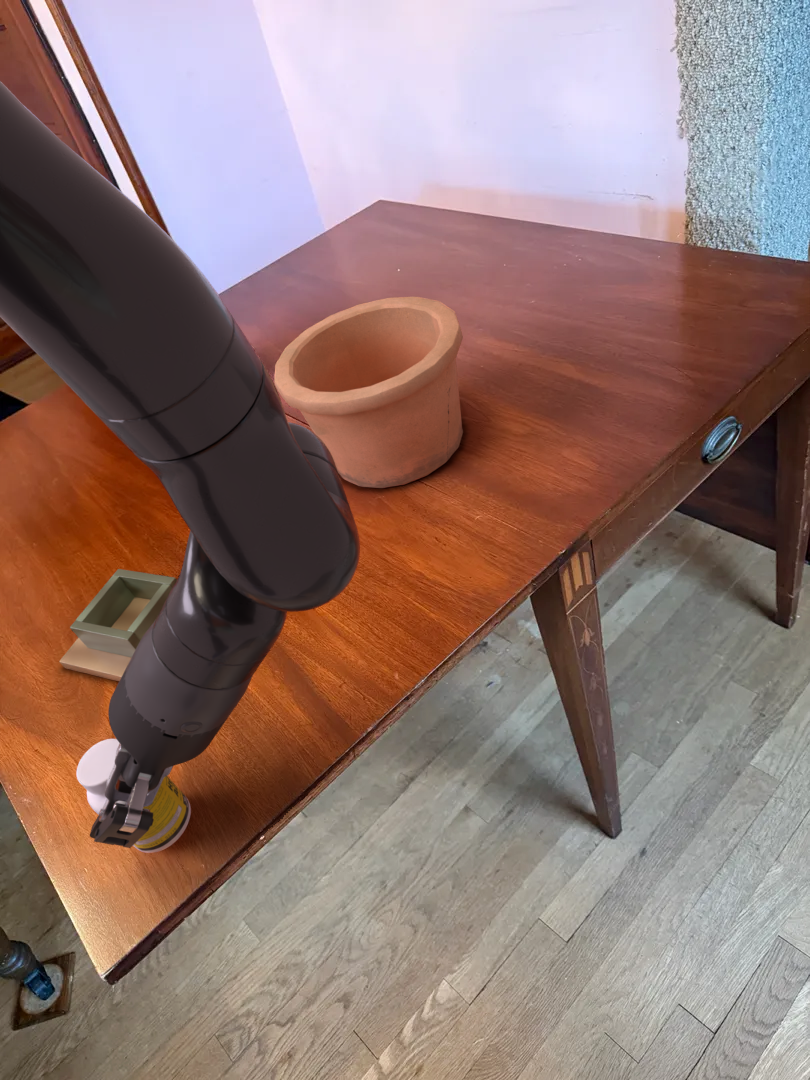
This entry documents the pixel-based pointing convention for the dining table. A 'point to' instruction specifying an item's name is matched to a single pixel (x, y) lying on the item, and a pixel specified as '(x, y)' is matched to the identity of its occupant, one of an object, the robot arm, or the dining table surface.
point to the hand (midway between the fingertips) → (113, 799)
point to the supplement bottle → (93, 776)
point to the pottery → (379, 388)
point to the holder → (116, 623)
